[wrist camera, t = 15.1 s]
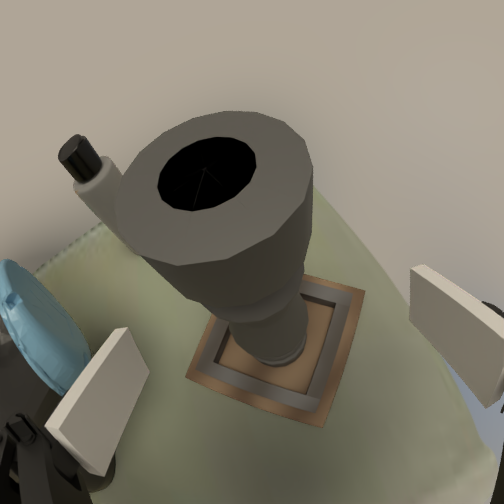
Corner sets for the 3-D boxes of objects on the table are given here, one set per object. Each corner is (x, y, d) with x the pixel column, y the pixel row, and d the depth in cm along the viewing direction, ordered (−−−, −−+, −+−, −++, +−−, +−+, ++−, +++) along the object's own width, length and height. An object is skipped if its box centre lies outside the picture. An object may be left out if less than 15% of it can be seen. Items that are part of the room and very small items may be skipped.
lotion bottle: (170, 229, 40) (99, 125, 22) (150, 261, 38) (62, 166, 20) (144, 219, 42) (74, 125, 24) (124, 249, 40) (42, 162, 22)
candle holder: (303, 369, 27) (325, 285, 5) (245, 364, 28) (78, 267, 6) (308, 314, 30) (318, 103, 8) (252, 310, 31) (149, 119, 9)
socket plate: (188, 377, 29) (177, 375, 27) (239, 259, 36) (233, 247, 33) (321, 426, 25) (324, 430, 22) (363, 294, 31) (369, 284, 28)
